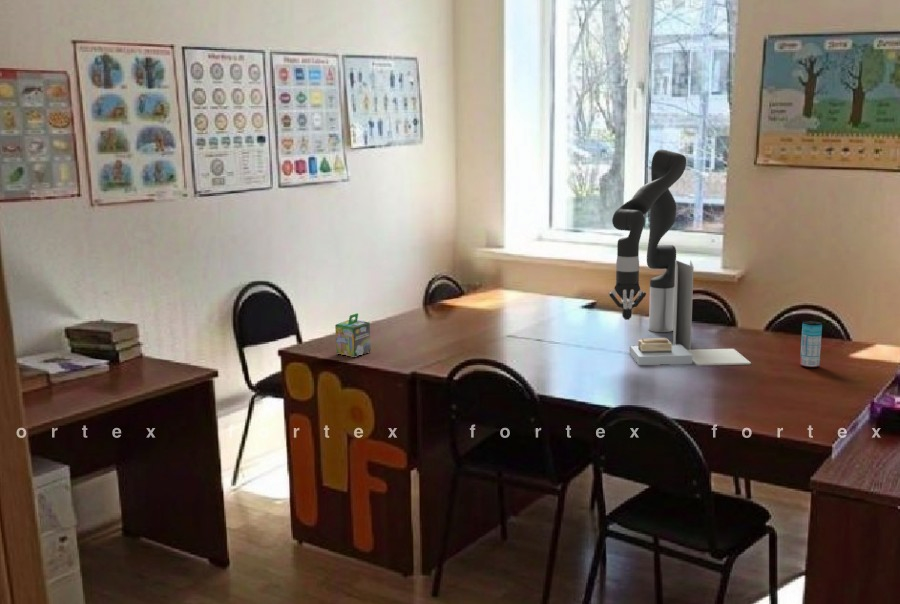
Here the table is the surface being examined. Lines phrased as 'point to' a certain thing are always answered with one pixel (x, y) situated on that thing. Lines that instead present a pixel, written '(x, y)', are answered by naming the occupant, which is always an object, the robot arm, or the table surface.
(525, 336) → the table surface
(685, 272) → the grey panel
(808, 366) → the beverage can
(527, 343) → the table surface
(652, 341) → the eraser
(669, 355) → the large white box
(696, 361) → the mat
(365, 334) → the chalk box
